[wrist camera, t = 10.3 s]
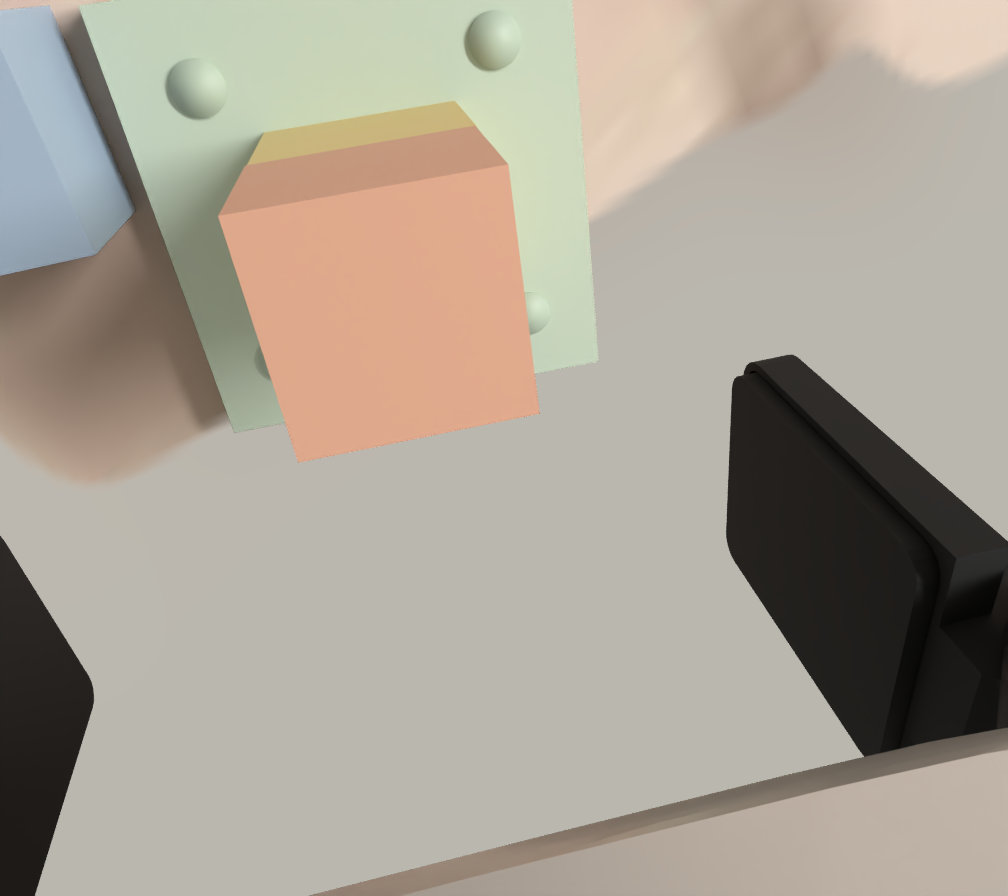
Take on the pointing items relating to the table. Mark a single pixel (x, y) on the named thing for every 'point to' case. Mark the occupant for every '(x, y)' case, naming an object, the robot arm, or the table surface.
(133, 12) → the build plate
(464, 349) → the terracotta brick
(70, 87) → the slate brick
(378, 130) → the ochre brick
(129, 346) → the table surface
